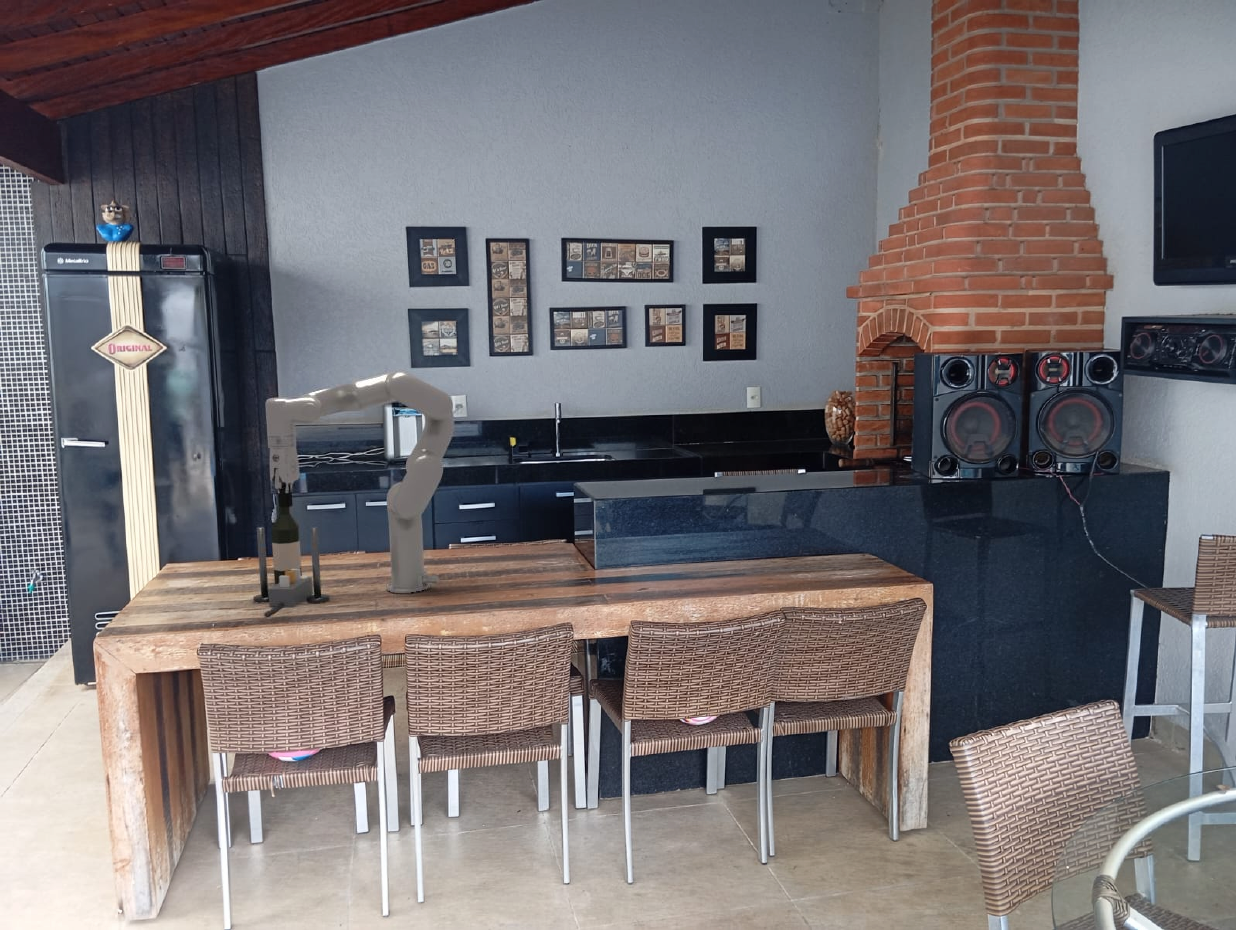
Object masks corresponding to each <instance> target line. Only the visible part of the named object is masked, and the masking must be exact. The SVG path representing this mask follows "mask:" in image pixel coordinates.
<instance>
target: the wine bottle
mask: <svg viewBox="0 0 1236 930" xmlns="http://www.w3.org/2000/svg"><path fill="white" fill-rule="evenodd" d="M276 491H277V492H276V493H277V494H276V495H277V509H278V512H277V513H278V515H277V516H276V519H275V521H274V523H273V525H272V527H271V545H272V546H271V547H272V557H273V558H272V562H273V574H274V575H273V577H274V584H276V583H279V576H285V572H286V571H291V569H300V574H301V576H303V575H302V572H303V571H302V559H301V558H302V555H301V542H300V541H301V537H300V526H299V524H298V523H297V521H296V520H295V518H294V517H293V515H292V514H291V511H290V508H291V507H280V506H279V493H278V489H276Z"/></svg>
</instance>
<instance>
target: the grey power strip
mask: <svg viewBox="0 0 1236 930" xmlns="http://www.w3.org/2000/svg"><path fill="white" fill-rule="evenodd" d="M291 571H295V582H294V583H290V581H289V576H279V583H278V584H276V583H275V585H273V586H271V587H270V588H269V587H268V594H269V602H268V603H269V606H270V609H269V610H267V611H266V612H264V614H263V615H264V617H265V618H266V617H269V616H270V615H272V614H274V613H275V612H277V611H278V610H280V609H281V608H283V607H284V608H287V607H289V608H294V607H296V606H298V605H299V604H301V603H302V602H303V601H305V600H306V599H305V598H306V597H308V596H311V595H314V590H313V576H308V575H307V576H305V575H302V576H301V574H300V569H291ZM304 599H305V600H304ZM295 605H296V606H295ZM269 606H268V607H269ZM272 606H275V607H272ZM271 607H272V608H271Z"/></svg>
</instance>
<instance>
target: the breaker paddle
mask: <svg viewBox="0 0 1236 930" xmlns="http://www.w3.org/2000/svg"><path fill="white" fill-rule="evenodd" d="M285 576H289V581H290V583H294V582H295V571H286V572H285Z"/></svg>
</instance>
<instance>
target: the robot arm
mask: <svg viewBox="0 0 1236 930" xmlns="http://www.w3.org/2000/svg"><path fill="white" fill-rule="evenodd" d="M394 402H399V403H401V404H402V405H404V406H406V407H408V408H409V409H412V410H414V411H416V412H417V413H419V414H422V415H423V416H424V427H423V429H422V431H421V434H420V436H419V438H418V439H417V442H416V444H415V445H414V447H413V449H412V451H411V452H410V455H409V456H408V458H407V459H406V462H405V463H406V464H405V470H406V473H405V476H404V477H403V480H402V481H400V482H396V483H394V484H393V485H392V486H391V487H390V488H389V490H388V491H387V495H386V507H387V508H386V510H387V518H388V531H389V532H388V533H389V551H390V553H389V555H390V574H391V582H390V583H388V584H387V585H386V590H387V591H388V592H389V591H390V592H389V593H393V592H394V593H395V594H412V593H411V592H414V593H417V592H416V591H420V592H423V591H422V590H424V589H426V588H428V589H430V587H431V584H439V576H437V575H429V574H428V570H425V563H424V562H425V561H424V559H425V557H424V540H423V539H424V538H423V520H422V519H423V518H422V514H423V513H424V511H425V510H426V508H427V507H428V505H429V502H430V501H431V499H432V497H433V496H434V493H435V492H436V490H437V488H438V486H439V484H440V482H441V479H442V476H443V473H444V467H443V466H444V465H443V462H442V460H443V458H444V456H445V453H446V451H447V449H448V447H449V445H450V442H451V440H452V439H453V434H454V430H455V418H454V413H453V409H454V403H453V399H452V398H451V395H449V394H448V393H447V392H445V391H443V390H442V389H439V388H437V387H435V386H434V385H431V384H430V383H428V382H426V381H424V380H422V379H420V378H418V377H417V376H415V375H413V374H411V373H410V372H407V371H404V370H393V371H389V372H385V373H381V374H378V375H374V376H373V375H372V376H370V377H367V378H366V377H365V378H362V379H358V380H354V381H351V382H347V383H343V384H341V385H337V386H333V387H327V388H325V389H321V390H318V391H313V392H309V393H305V394H302V395H300V396H299V397H297V398H291V397H280V396H279V397H271V398H268V399H267V400H266V401H265V418H266V432H267V433H266V434H267V447H268V448H267V449H269V476H270V481H271V483H272V484H274V488H275V490H277V489H278V493H279V506H280V507H290V508H291V507H293V493H292V492H293V485H294V483H295V481H298V480H299V479H300V478H301V475H300V474H301V473H300V465H299V457H298V451H297V438H296V436H297V435H296V423H298V424H300V423H301V424H314V423H316V422H318V421H319V420H320V419H321V418H322V417H325V416H326V417H327V416H329V415H333V414H338V413H343V412H361V411H365V410H369V409H372V408H375V407H380V406H383V405H387V404H391V403H394ZM426 590H427V589H426ZM424 591H425V590H424Z"/></svg>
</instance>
